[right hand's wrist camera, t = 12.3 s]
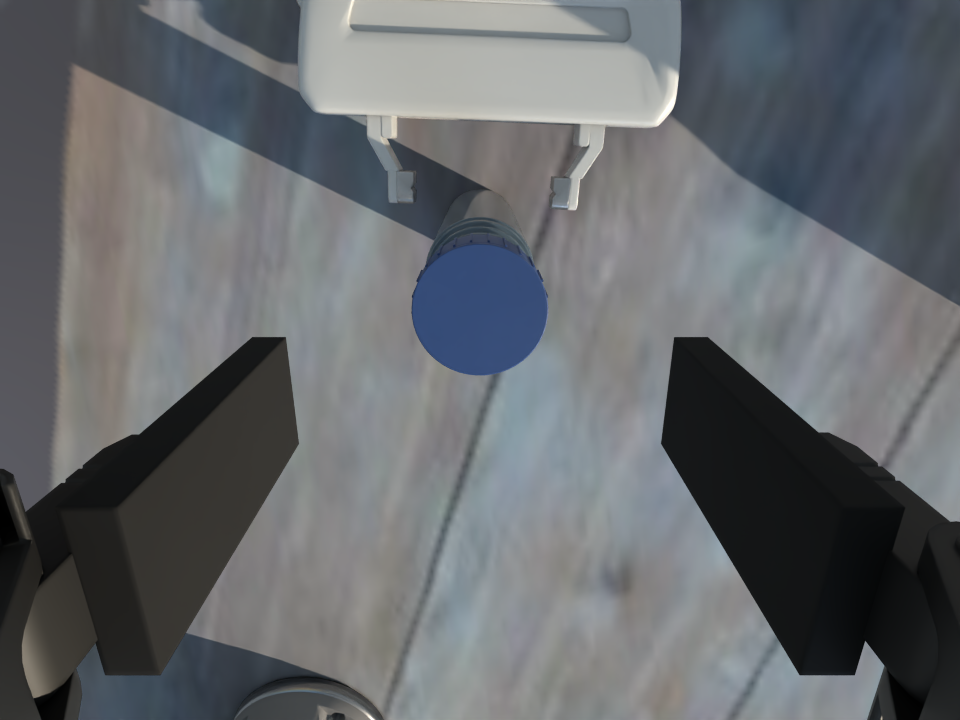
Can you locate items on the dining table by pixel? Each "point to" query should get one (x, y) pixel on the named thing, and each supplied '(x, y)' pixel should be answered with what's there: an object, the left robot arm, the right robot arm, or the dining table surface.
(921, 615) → the right robot arm
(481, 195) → the bottle
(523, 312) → the cap
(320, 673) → the dining table surface
